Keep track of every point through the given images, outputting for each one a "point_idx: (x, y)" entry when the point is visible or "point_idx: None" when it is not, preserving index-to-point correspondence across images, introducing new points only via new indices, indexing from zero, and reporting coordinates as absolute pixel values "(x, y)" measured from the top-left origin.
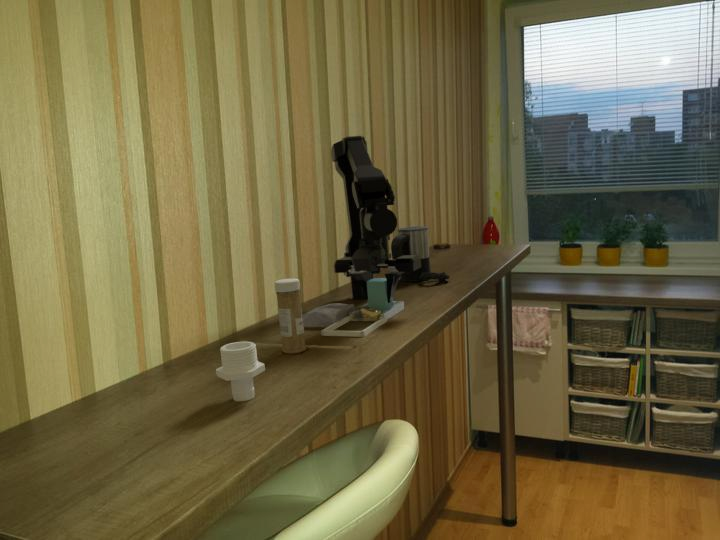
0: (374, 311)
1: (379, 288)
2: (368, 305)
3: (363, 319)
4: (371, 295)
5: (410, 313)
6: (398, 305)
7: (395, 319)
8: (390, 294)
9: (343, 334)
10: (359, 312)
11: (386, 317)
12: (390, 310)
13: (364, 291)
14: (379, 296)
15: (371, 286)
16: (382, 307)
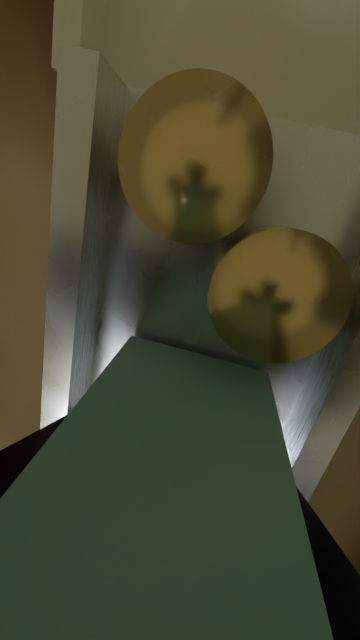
0: (177, 126)
1: (93, 528)
2: None
3: (299, 171)
4: (244, 472)
5: (13, 369)
6: (45, 404)
7: None
8: (15, 443)
9: None
10: (352, 306)
11: (53, 49)
12: (53, 241)
13: (357, 581)
14: (142, 431)
15: (239, 621)
16: (149, 362)
